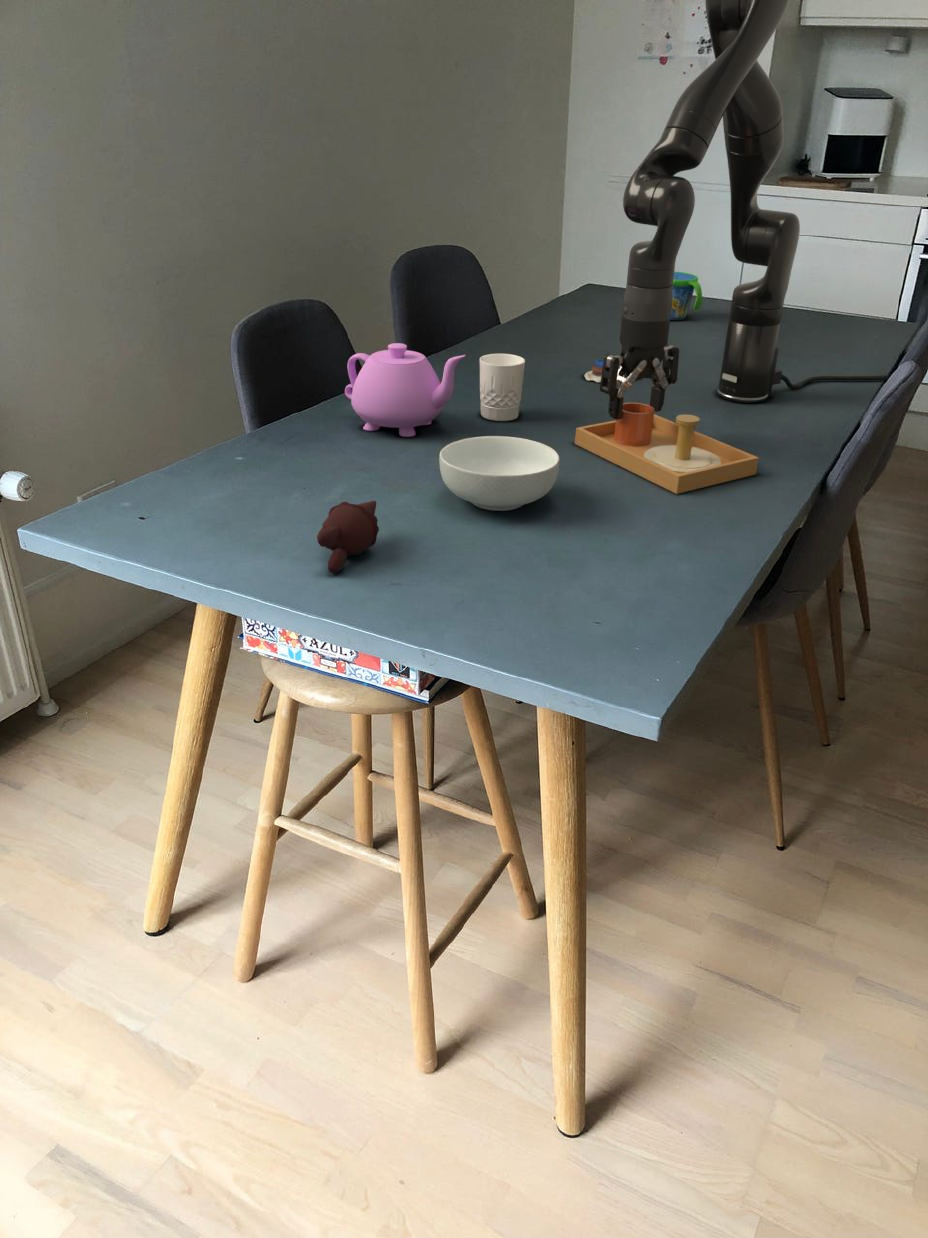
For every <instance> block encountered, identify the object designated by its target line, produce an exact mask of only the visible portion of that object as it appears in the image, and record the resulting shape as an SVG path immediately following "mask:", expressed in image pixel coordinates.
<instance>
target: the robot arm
mask: <svg viewBox="0 0 928 1238" xmlns="http://www.w3.org/2000/svg"><path fill="white" fill-rule="evenodd" d="M789 2H790V0H705V12H706V21H707V27H708V32H709V36H710V41H711V45H712V49H713V51H712V52H713V56H714V59H715V60H714V61H713V62H711V63H710V65H708V66H707V67H706V68H705V69H704V70H703V71H702V72H700V74H699V75H697V76H696V77H695V78H694V79H693V80H692V81H691V82H690V83H689V85H688V86H686V88H685V89H684V91H683V92H682V93H681V95H680V96H679V98H678V100H677V101H676V103H675V104H674V107H673V109H672V111H671V113H670V116H669V118H668V120H667V121H666V125H665V127H664V129H663V132H662V134H661V136H660V138H659V140H658V141H657V142H656V144H654V146H653V147H652V149H651V150H650V151H649V152H648V153H647V155H646V156H645V157H644V159H643V160H642V162H641V163H640V164H639V165H638V167H637V168H636V169H635V170H634V171H633V173H632V174H631V177H630V178H629V180H628V181H627V184H626V187H625V190H624V193H623V197H622V207H623V211H624V214H625V216H626V218H628V220H629V221H631V222H633V223H635V224H639V225H640V224H641V225H647V226H654V227H656V232H655V233H654V236H653V238H652V240H645V241H640V242H637V243H635V244H634V245H632V247H631V249H630V252H629V257H628V266H627V277H626V287H625V290H624V293H623V294H624V295H623V301H622V312H621V321H620V332H619V342H620V345H621V350H620V353H619V355H611V354H609V353H607V354H604V356H603V359H602V360H603V368H602V375H601V382H599V391H600V392H602V393H604V394H606V395H608V396H609V398H608V399H609V400H608V410H607V411H608V415H609V417H610V418H611V419H613V420H618V419H621V418H622V409H623V403H624V395H625V393H626V392H627V390H628V388H629V387H632V386H633V384H634V383H635V381H641V380H643V379H650V382H651V383H652V385H653V386H651V390H650V399H649V405H650V406H652V407H653V408H654V409H655V411H654V412H656V413H658V412H661V411H662V409H663V407H664V404H665V397H666V390H667V389H668V387H669V386H670V385H673V384H676V383H677V381H678V374H679V373H678V371H679V361H680V360H679V359H680V348H679V347H677V346H674V345H670V344H668V343H669V336H670V335H669V333H670V326H671V320H670V318H671V310H672V300H673V293H672V289H673V279H674V272H675V271H676V270H675V269H676V261H677V260H676V259H677V257H678V254H679V251H680V248H681V247H682V242H683V240H684V237H685V234H686V233H687V232H686V231H687V229H688V227H689V224H690V221H691V220H692V216H693V214H694V211H695V206H696V205H695V203H696V196H695V192H694V191H695V190H694V187H693V185H692V184H691V182H690V181H689V180H688V179H686V178H685V177H682V176H678V175H677V174H679V173H681V172H685V171H691V170H694V169H696V168H698V167H699V166H700V165H701V163H702V162H703V160H704V158H705V156H706V154H707V152H708V149H709V148H710V145H711V143H712V140H713V138H714V136H715V135H716V132H717V130H718V127H719V124H721V121H722V126H723V136H724V145H725V152H726V159H727V167H728V168H727V169H728V177H729V178H728V179H729V189H730V190H729V191H730V242H731V243H730V244H731V250H732V254H733V256H734V259H736V260H737V261H738V262H741V263H743V264H748V265H753V266H754V265H755V266H761V267H766V270H765V274H764V275H763V277H761V278H760V279H757V280H754V281H749V282H744V283H740V284H738V285H736V286H735V287H734V289H733V292H732V296H731V304H730V310H729V318H728V324H727V330H726V331H727V332H726V336H725V342H724V349H723V355H722V363H721V369H720V375H719V381H718V387H717V391H716V394H717V396H718V397H720V398H722V399H724V400H727V401H732V402H736V403H746V404H753V403H761V402H764V401H766V400H767V399H768V398H770V397H771V394H772V391H773V390H772V389H773V386H774V385H775V386H776V385H780V384H781V381H783V382H784V383H785V385H786V386H787V387H788V388H789V389H791V390H798V389H801V388H802V387H804V386H805V385H807V384H808V383H811V382H818V381H884V380H885V381H886V380H889V379H888V377H889V375H890V374H884V375H883V374H882V375H817V376H810V377H808V378H805V379H803V380H802V381H800V382H799V383H798V384H793V383H792V382H791V380H790V379H789V378H788V377H787V376H786V375H784V374H783V371H782V370H780V369H777V362H778V356H779V351H780V348H779V346H778V345H777V344H778V337H779V331H780V326H781V321H782V315H783V309H784V305H785V299H786V295H787V291H788V288H789V285H790V279H791V274H792V270H793V266H794V261H795V258H796V253H797V249H798V245H799V240H800V233H801V225H800V219H799V217H798V215H797V214H795V213H794V212H793V213H792V212H787V211H781V210H771V209H761V208H760V207H759V205H758V191H759V189H760V186H761V185H762V182H764V179H765V178H766V176H767V175H768V174H769V172H770V171H771V169H772V168H773V167H774V164H775V163H776V161H777V160H778V158H779V156H780V154H781V152H782V150H783V146H784V142H785V140H784V139H785V131H784V113H783V112H784V111H783V104H782V100H781V97H780V94H779V93H778V90H777V89H776V87H775V85H774V84H773V82H772V80H771V79H770V77H769V76H768V74H767V72H766V71H765V69H764V68H763V67H762V65H761V64H760V63H759V61H758V59H759V57H760V56H761V54H762V53H763V51H764V49H765V48H766V46H767V44H768V43H769V42H770V39H771V38H772V36H773V35H774V33H775V32H776V30H777V28H778V26H779V25H780V23H781V21H782V19H783V18H784V15H785V12H786V10H787V8H788V5H789ZM661 363H662V364H661ZM620 365H621V366H620ZM623 375H624V376H626V377H623ZM608 380H609V381H608Z"/></svg>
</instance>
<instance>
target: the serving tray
mask: <svg viewBox="0 0 928 1238" xmlns="http://www.w3.org/2000/svg"><path fill="white" fill-rule="evenodd" d="M615 425H616V419H614V420H609V421H605V422H600V423H594V424H589V425H585V426H584V425H583V426H579V427H576V428H575V437H574V445H576V446H578V447H580V448H582V449H584V450H585V451H588V452H590V453H592V454H593V455H596V456H598V457H600V458H602V459H605V460H606V461H609V462H610V463H613V464H615V465H616V466H619V467H621V468H623V469H625V470H627V471H628V472H631V473H632V474H635V475H637V476H639V477H641V478H643V479H645V480H647V481H649V482H651V483H653V484H655V485H656V486H657V485H658V486H659V487H662V488H664V489H665V490H667V491H670V492H671V493H674V494H676V495H678V494H682V493H686V492H691V491H695V490H698V489H702V488H706V487H711V486H715V485H718V484H723V483H726V482H730V481H735V480H739V479H743V478H747V477H750V476H755V475H757V470H758V464H759V457H758V456H756V455H753V454H751V453H749V452H746V451H744V450H742V449H739V448H737V447H734V446H733V445H731V444H730V445H729V444H728V443H725V442H723V441H720V440H718V439H715V438H713V437H710V436H708V435H705V434H703V433H700V432H698V431H696V430H694V436H693V443H692V447H696V448H700V449H703V450H707V451H709V452H711V453H713V454H715V455H717V456H718V457H719V458H720V459H721V464H720V465H715V466H711V467H707V468H702V469H698V470H694V471H690V472H685V473H681V474H678V473H676V472H674V471H672V470H670V469H668V468H666V467H664V466H661V465H659V464H657V463H655V462H653V461H651V460H649V459H646V458H644V453H645V452H646V451H647V450H648V449H651V448H653V447H657V446H664V445H676V444H677V437H678V430H679V424H678V423H677V422H674V421H672V420H670V419H667V418H665V417H662V416H660V415H658V414H656V413H654V419H653V427H652V435H651V442H650V444H648V445H645V446H626V445H622V444H619V443H617V442H616V441H615V440H614V434H615Z"/></svg>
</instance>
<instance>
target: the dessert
mask: <svg viewBox="0 0 928 1238" xmlns="http://www.w3.org/2000/svg"><path fill="white" fill-rule="evenodd" d="M603 360H604V359H602V358H599V359H598V358H597V359H596V360H595V362H593V364H592V366H591V367H592V368H591V370H589V371H586V373H585V374H584V378H585V380H586V381H594V382H596V383H601V375H602V368H603ZM620 366H621V365H620ZM625 376H626V375H625V374H624V375H623V377H625ZM625 378H626V377H625ZM608 382H609V380H608Z"/></svg>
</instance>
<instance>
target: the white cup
mask: <svg viewBox="0 0 928 1238" xmlns="http://www.w3.org/2000/svg"><path fill="white" fill-rule="evenodd" d="M525 365H526V359H525V358H524V357H522V356H519V355H517V354H511V353H488V354H485V355H482V356H480V357H479V397H480V398H479V399H480V415H481V416H482V418H483V419H486V420H489V421H495V422H508V421H514V420H516V419H518V417H519V416H520V407H521V402H522V394H523V385H524V375H525Z"/></svg>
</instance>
